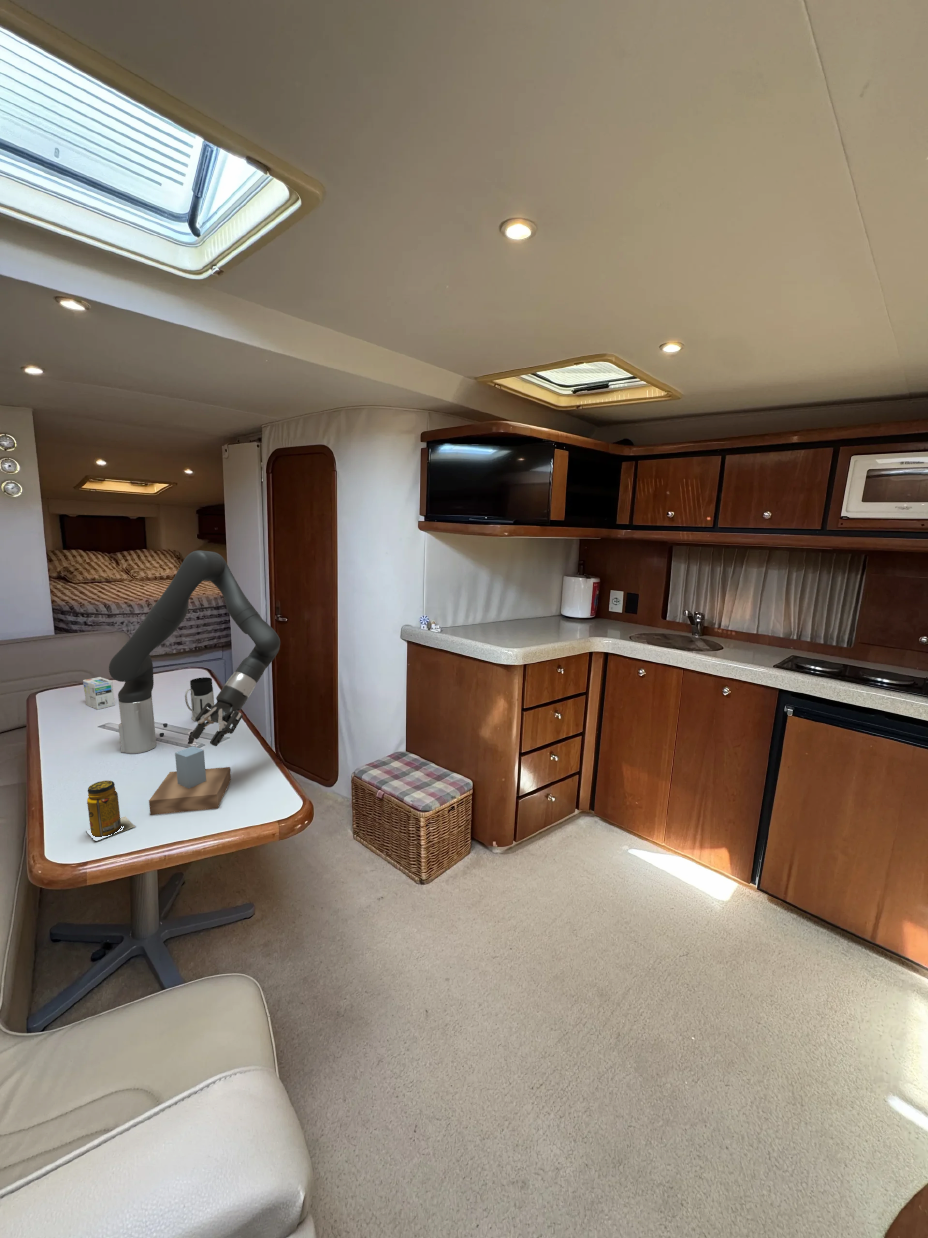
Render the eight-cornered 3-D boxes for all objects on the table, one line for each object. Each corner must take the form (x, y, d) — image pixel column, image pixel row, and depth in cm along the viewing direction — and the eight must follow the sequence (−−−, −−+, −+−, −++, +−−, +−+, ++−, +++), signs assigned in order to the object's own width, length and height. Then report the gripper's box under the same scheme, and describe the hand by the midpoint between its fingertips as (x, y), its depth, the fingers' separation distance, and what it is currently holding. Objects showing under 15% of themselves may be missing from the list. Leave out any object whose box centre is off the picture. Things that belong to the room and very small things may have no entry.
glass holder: (221, 713, 202) (218, 677, 200) (199, 727, 189) (196, 688, 186) (200, 712, 203) (197, 676, 201) (176, 726, 189) (173, 687, 187)
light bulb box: (115, 705, 210) (112, 680, 209) (97, 710, 205) (94, 684, 203) (103, 700, 216) (100, 676, 214) (85, 705, 210) (82, 679, 209)
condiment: (85, 831, 124) (79, 785, 122) (125, 816, 130) (120, 773, 128) (94, 843, 119) (89, 795, 117) (135, 827, 126) (131, 782, 123)
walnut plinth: (150, 815, 131) (148, 800, 130) (171, 785, 146) (169, 771, 146) (217, 808, 134) (216, 794, 134) (231, 779, 150) (230, 767, 149)
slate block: (188, 788, 136) (186, 757, 135) (177, 783, 139) (174, 752, 137) (206, 780, 141) (203, 750, 139) (195, 776, 143) (192, 746, 142)
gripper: (212, 680, 150) (177, 730, 142) (244, 688, 143) (209, 741, 135) (229, 693, 155) (197, 741, 148) (261, 701, 149) (228, 753, 141)
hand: (203, 741), depth 141 cm, fingers open, 8 cm apart
